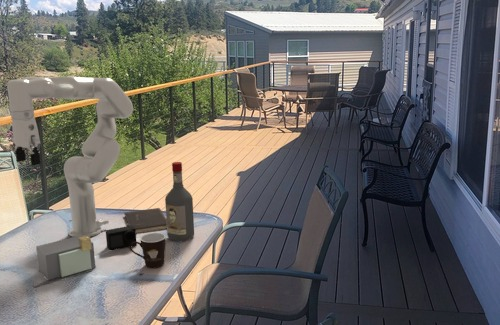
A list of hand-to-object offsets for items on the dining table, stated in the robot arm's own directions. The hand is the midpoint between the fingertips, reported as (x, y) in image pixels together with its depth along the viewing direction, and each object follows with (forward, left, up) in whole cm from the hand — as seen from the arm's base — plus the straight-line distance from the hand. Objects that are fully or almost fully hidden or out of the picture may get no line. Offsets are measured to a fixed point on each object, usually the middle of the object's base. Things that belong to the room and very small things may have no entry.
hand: (28, 162), depth 189 cm
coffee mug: (-27, +37, -34) cm, 57 cm away
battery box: (0, +23, -34) cm, 41 cm away
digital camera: (-26, +16, -34) cm, 46 cm away
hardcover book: (-46, -3, -35) cm, 57 cm away
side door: (-4, +29, -33) cm, 44 cm away
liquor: (-48, +22, -34) cm, 63 cm away
